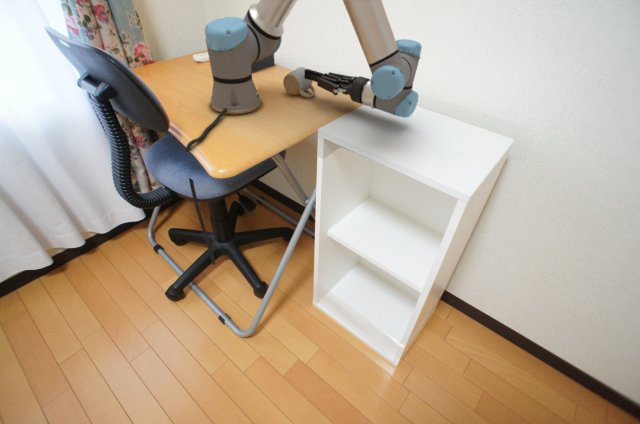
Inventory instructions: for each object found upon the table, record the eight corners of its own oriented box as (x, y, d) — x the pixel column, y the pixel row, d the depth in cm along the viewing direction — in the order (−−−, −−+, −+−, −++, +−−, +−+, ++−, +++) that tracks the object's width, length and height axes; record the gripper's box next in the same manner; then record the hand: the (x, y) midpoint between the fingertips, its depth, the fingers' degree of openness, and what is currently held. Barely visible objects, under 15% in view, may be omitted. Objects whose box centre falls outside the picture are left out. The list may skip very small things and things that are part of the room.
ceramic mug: (281, 93, 108) (281, 70, 103) (295, 86, 113) (295, 64, 108) (306, 101, 104) (307, 78, 99) (319, 94, 110) (320, 71, 104)
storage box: (252, 72, 123) (249, 43, 115) (229, 65, 128) (225, 36, 121) (274, 65, 131) (273, 37, 124) (252, 58, 136) (249, 31, 129)
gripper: (354, 110, 92) (293, 90, 102) (374, 97, 101) (316, 80, 110) (357, 85, 87) (293, 66, 97) (378, 74, 95) (317, 57, 105)
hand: (306, 73), depth 104 cm, fingers closed
